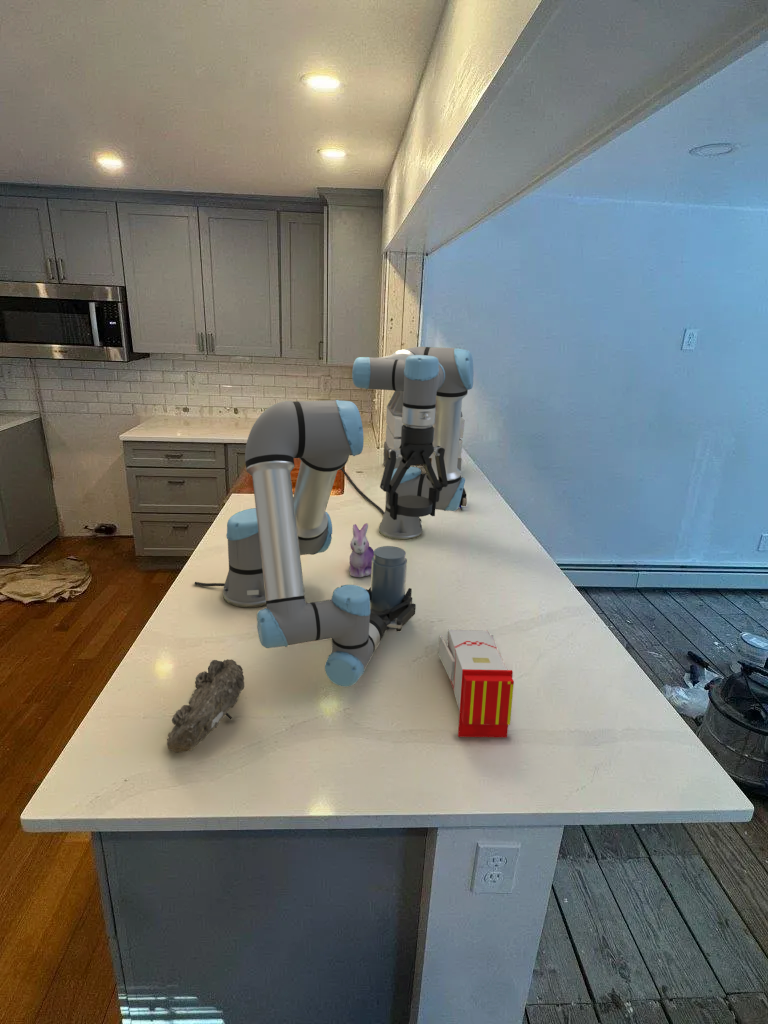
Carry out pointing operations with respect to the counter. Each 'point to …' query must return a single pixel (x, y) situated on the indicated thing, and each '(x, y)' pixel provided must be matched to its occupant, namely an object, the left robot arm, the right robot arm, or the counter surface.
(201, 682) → the fossil
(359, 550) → the figurine
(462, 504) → the figurine character
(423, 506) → the lid
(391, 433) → the white slatted crate
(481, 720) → the toy
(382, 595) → the jar
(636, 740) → the counter surface
